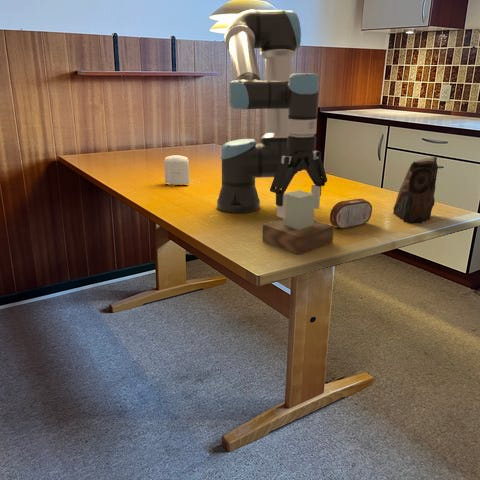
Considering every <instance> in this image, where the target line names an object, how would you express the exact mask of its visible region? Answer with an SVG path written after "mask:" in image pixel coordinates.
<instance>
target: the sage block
mask: <svg viewBox="0 0 480 480" xmlns="http://www.w3.org/2000/svg"><path fill="white" fill-rule="evenodd" d="M284 194H287V196H286V218H282V219H283V225H285V226H288V227H291V228H294V229H297V230H300V229H303V228H307V227H310V226H313V221H314V220H315V219H314V218H315V216H314V215H315V208H314V202H315V194H312V193H311V192H306V191H303V190H300V189H299V190H293V191H289V192H285V193H284Z"/></svg>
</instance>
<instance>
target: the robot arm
mask: <svg viewBox="0 0 480 480" xmlns="http://www.w3.org/2000/svg"><path fill="white" fill-rule="evenodd" d="M301 30H302V28H301V23H300V19H299V16H298V14H297V13H296V12H295V10H294V11H293V10H285V9H248V10H244V11H242V12H240V13H238V14H236V15H235V16H234V17H233V18H232V19H231V20H230V22H228V24H227V27H226V29H225V31H224V32H225V33H224V43H225V47H226V49H227V50H228V51H229V55H230V61H231V69H232V75H233V80H231V81H230V82H229V85H228V101H229V102H228V103H229V106H230V108H232V109H235V110H236V109H237V110H245V111H246V110H264V109H265V111H264V112H265V132H264V135H262V136H261V138H260V142H259V143H257V141H256V139H254V138H240V139H235V140H229V141H228V142H225V143H224V144H222V147H221V153H220V154H221V155H220V160H221V187H220V191H219V195H218V198H217V201H216V207H217V209H218V210H219V209H220V210H219V211H221V210H222V212H226V213H233V214H234V213H235V214H240V213H241V214H242V213H244V214H245V213H250V212H251V213H252V212H255V211H258V210H260V207H261V200H260V198H259V193H258V191H257V187H256V178H257V179H258V178H260V179H261V178H262V179H263V178H266V179H267V178H273V179H272V182H271V185H270V187H269V191H270V193H274V194H275V206H276V217H278V218H280V219H283V218H286V196H287V194H285V193H286V191H287V189H288V187H289V186H290V184H291V182H292V180H293V179H294V177H295V175H296V174H297V173H299V172H302V171H306V173H307V174H308V176H309V177H310V180H311V181H312V183H313V184H311V190H310V191H311V192H310V193H312V194H315V202H314V210H315V209H316V210H319V209H320V206H321V205H320V203H321V196H322V187H325V185H326V183H327V182H328V178H327V174H326V170H325V167H324V163H323V159H322V151H319V150H316V148H317V147H316V146H317V137H316V135H317V123H318V121H317V120H318V106H319V105H318V104H319V92H320V78H319V74H317V73H311V72H309V73H303V72H302V73H301V72H299V73H292V70H291V69H292V58H293V57H294V56H295V55H296V50H297V49H299V48H300V46H301V39H302V31H301ZM255 49H259V50H260V51H259V53H260V56H261V57H262V58H263V59H264V66H265V67H264V74H265V75H264V77H265V78H264V79H263V80H262V79H261V78H262V77H261V75H260V70H259V65H258V60H257V56H256V52H255Z"/></svg>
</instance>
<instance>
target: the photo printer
mask: <svg viewBox="0 0 480 480" xmlns="http://www.w3.org/2000/svg"><path fill="white" fill-rule="evenodd" d="M163 163H164V184H165V183H169V184H189V185H190V161H189V157H186V156H184V155H183V156H182V155H179V154H177V155H176V154H175V155H168V156H166V157H165V158H164V162H163Z"/></svg>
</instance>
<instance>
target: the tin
mask: <svg viewBox="0 0 480 480" xmlns="http://www.w3.org/2000/svg"><path fill="white" fill-rule="evenodd" d="M372 212H373V206H372V204H371V202H369V201H368V200H365V199H364V198H355V199H348V200H347V199H346V200H341V201H338V202H336V203H335V204H334V206H333V207H332V209H331V210H330V214H329V221H330V223H331V225H332V226H334V227H335V228H338V229H341V230H342V229H349V228H355V227H360V226H364V225H366V224H367V223H368V222H369V221H370V219H371V217H372Z"/></svg>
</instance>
